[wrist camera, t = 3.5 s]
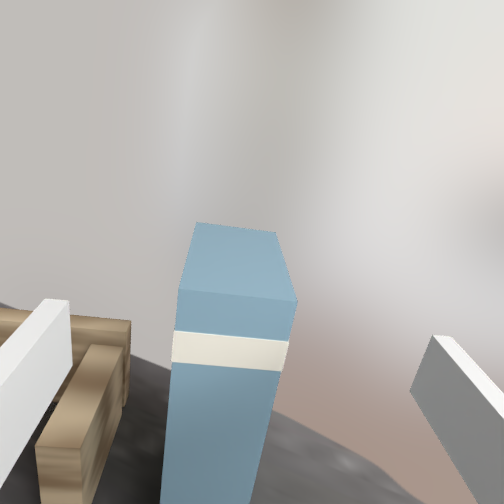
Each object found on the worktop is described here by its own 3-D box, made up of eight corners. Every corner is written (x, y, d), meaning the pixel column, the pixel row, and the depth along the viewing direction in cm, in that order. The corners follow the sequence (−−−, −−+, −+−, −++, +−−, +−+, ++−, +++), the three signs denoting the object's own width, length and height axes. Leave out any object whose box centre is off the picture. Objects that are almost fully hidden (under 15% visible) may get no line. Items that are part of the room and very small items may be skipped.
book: (234, 569, 28) (298, 302, 18) (153, 567, 27) (177, 289, 18) (233, 450, 37) (275, 232, 28) (173, 446, 36) (195, 221, 27)
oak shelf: (83, 527, 29) (79, 438, 25) (-140, 519, 27) (-182, 422, 23) (129, 393, 41) (131, 320, 38) (-21, 381, 40) (-35, 304, 36)
